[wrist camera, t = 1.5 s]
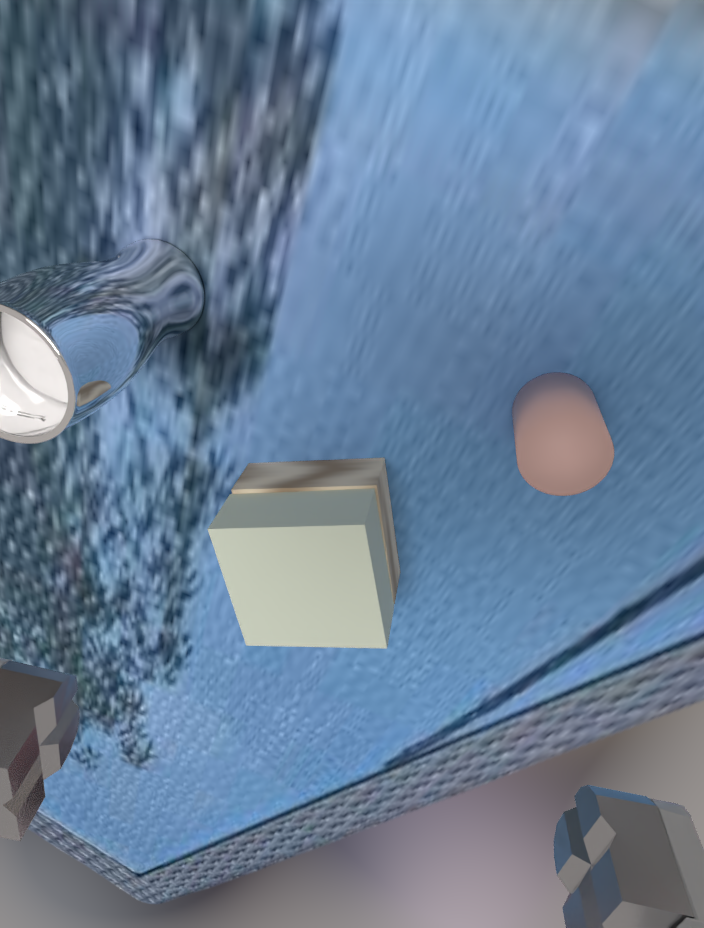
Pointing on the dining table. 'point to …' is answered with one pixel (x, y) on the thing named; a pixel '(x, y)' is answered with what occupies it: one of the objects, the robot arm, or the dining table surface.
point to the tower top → (306, 568)
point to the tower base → (329, 478)
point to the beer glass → (87, 333)
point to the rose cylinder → (560, 435)
